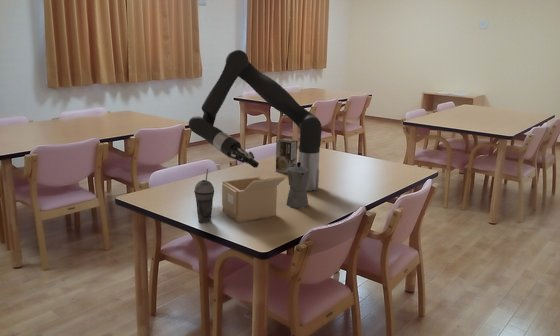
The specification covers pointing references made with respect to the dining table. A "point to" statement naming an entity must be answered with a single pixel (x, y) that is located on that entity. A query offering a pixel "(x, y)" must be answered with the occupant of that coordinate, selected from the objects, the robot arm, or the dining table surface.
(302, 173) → the coffeepot
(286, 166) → the coffee box
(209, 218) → the beverage cup
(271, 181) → the flap
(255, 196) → the carton
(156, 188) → the dining table surface
